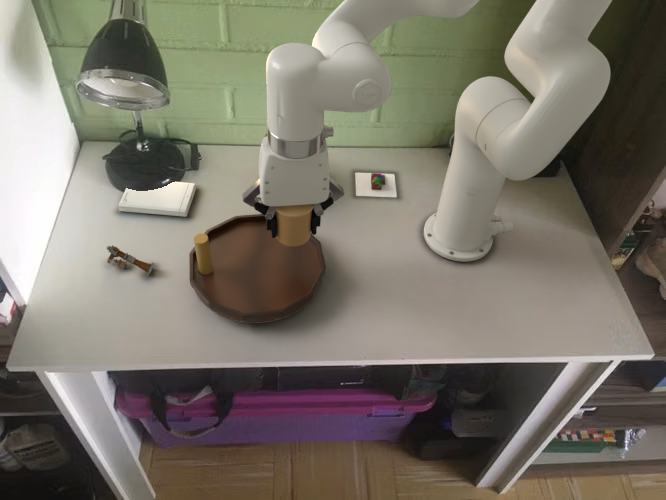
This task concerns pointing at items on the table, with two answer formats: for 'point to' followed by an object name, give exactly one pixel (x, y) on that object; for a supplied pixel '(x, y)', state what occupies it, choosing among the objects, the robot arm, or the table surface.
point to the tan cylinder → (294, 224)
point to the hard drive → (160, 200)
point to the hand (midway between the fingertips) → (293, 229)
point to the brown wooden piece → (127, 260)
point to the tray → (254, 271)
